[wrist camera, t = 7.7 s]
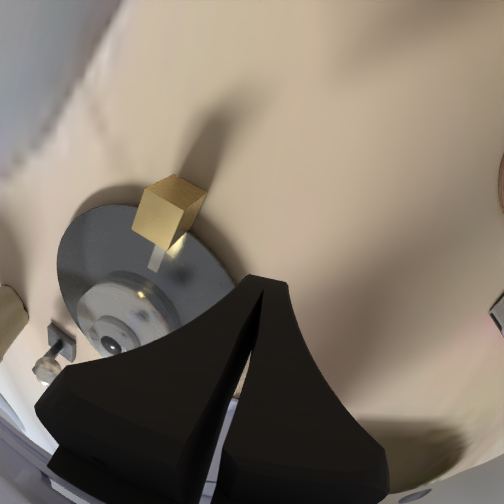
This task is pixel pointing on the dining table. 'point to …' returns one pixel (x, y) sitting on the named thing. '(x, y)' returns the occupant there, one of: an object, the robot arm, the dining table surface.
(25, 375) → the dining table surface
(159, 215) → the turntable
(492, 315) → the candy bar box
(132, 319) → the cover
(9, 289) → the flower pot
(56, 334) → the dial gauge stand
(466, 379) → the dining table surface
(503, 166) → the gemstone
